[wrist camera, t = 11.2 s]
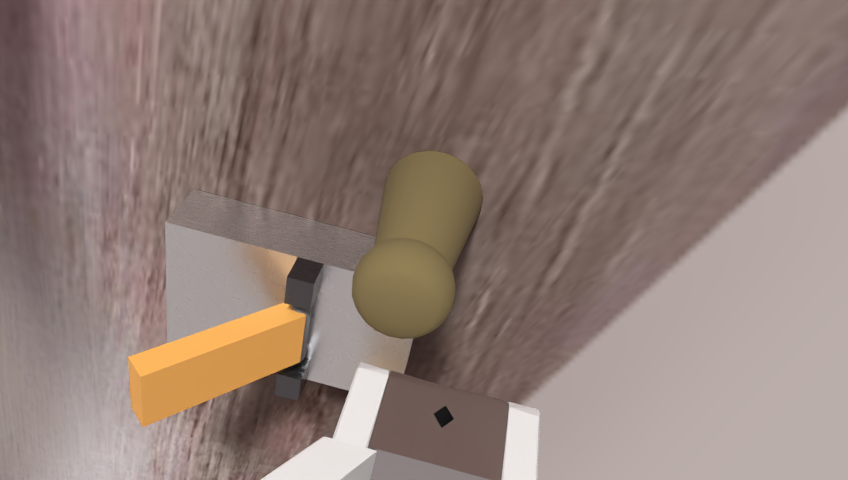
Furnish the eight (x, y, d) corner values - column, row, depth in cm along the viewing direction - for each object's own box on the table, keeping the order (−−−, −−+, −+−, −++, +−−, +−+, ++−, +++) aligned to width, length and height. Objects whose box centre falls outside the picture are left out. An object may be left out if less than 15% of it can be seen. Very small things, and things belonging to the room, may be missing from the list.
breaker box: (192, 305, 52) (153, 362, 47) (194, 188, 46) (149, 240, 42) (407, 362, 52) (390, 426, 47) (435, 252, 46) (419, 312, 41)
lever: (297, 344, 47) (131, 409, 41) (303, 293, 45) (127, 354, 38) (310, 359, 46) (143, 429, 40) (317, 309, 44) (140, 374, 37)
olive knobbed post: (379, 149, 43) (328, 255, 34) (482, 151, 42) (457, 262, 33) (388, 235, 46) (343, 353, 37) (483, 239, 45) (461, 362, 36)
